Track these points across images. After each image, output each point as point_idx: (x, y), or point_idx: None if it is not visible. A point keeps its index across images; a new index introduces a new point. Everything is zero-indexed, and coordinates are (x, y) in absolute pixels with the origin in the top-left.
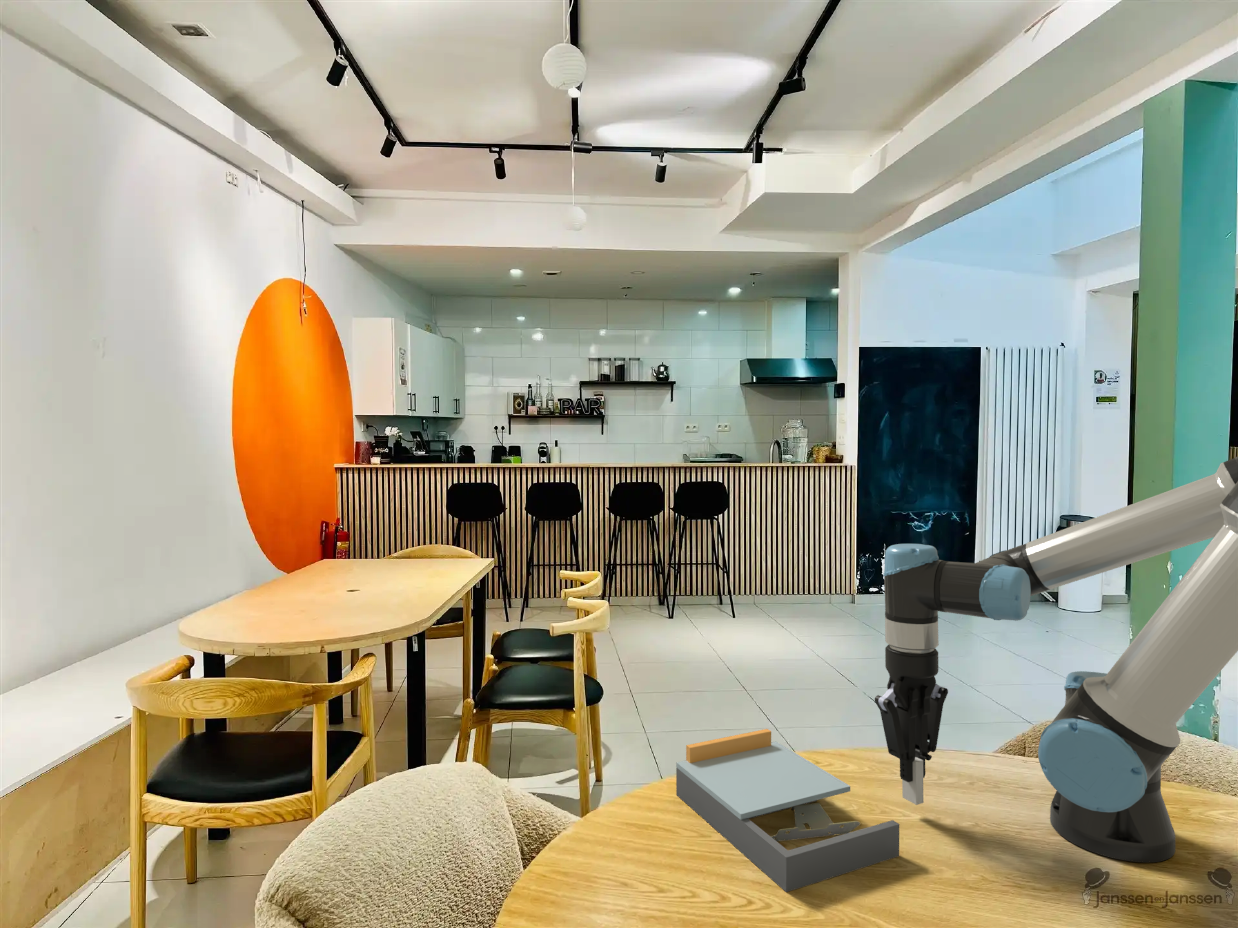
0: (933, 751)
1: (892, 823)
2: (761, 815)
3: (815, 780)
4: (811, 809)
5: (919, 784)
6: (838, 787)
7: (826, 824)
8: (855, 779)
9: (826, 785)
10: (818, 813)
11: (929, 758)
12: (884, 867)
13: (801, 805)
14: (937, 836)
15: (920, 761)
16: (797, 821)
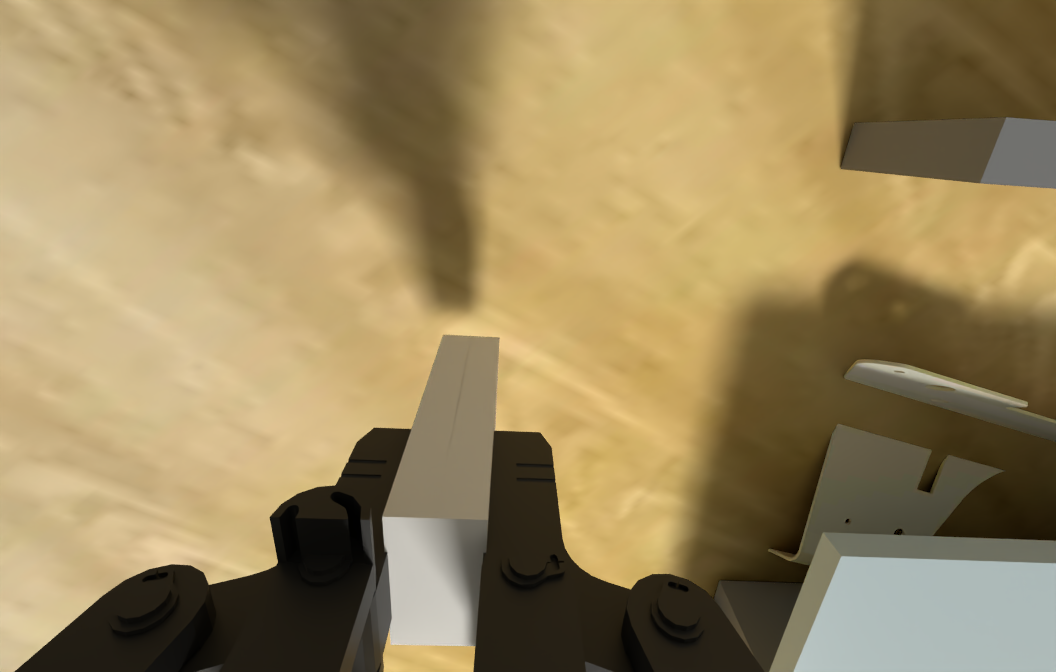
0: (175, 568)
1: (1030, 149)
2: None
3: (918, 656)
4: None
5: (463, 391)
6: (910, 569)
7: (860, 453)
8: None
9: (934, 605)
10: (843, 512)
11: (321, 498)
12: (1003, 85)
13: None
14: (528, 156)
15: (420, 512)
16: (945, 508)
